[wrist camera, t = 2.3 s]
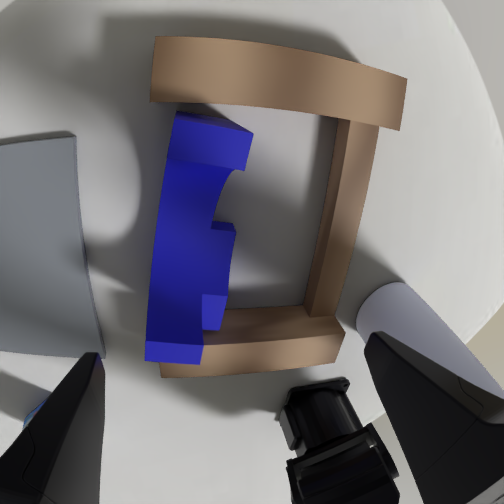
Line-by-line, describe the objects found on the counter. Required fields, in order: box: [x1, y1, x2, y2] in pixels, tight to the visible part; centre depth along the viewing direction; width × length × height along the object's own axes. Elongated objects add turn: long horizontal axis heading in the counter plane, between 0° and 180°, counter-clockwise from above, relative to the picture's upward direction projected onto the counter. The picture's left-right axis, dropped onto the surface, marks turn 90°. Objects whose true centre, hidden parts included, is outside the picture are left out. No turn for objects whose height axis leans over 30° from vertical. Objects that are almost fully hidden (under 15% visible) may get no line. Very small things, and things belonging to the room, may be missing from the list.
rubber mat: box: [0, 136, 106, 359], centre depth 17 cm, size 12×16×1 cm
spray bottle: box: [356, 282, 504, 399], centre depth 17 cm, size 6×6×22 cm
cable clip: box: [145, 111, 253, 365], centre depth 16 cm, size 12×4×6 cm, turn 166°
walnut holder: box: [150, 36, 407, 378], centre depth 18 cm, size 12×20×4 cm, turn 174°
